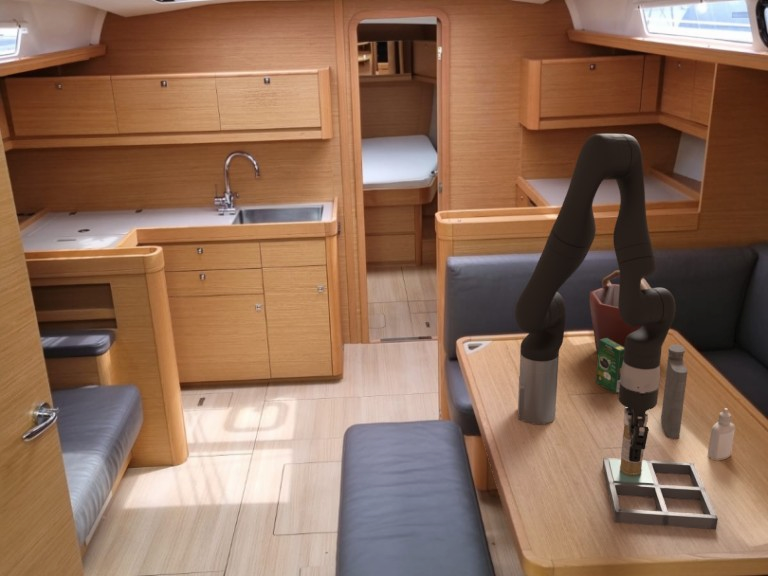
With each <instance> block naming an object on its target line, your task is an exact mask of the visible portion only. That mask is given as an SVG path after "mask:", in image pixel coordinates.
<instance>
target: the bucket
mask: <svg viewBox="0 0 768 576" xmlns="http://www.w3.org/2000/svg"><path fill="white" fill-rule="evenodd" d="M619 277H620V271H619V270H614V271H613V272H612V273H610V274H608V275H606V276H605V277H604V278H602V280H601V285H602V287H600V288H597V289H594V290H591V291H590V292H589V308H590V316H591V322H592V328H593V330H592V331H593V336H594V337H593V338H594V344H595V351H596V352H597V353H596V354H598V351H599V340H600V339H604V338H608V339H610V340H612V341H613V342H615V343H617V344H619V345H621V346H623V347H625V340H626V337H627V336H628V335H629V334H630V333H632V332H634V331H636V330H638V329H640V328H641V327H642V326H637V327H633V326H629V325H628V324H626V323H625V322H624V321H623V319H622V318H621V316H620V313H619V308H618V301H619V283H618V284H616V283H612V282H611V281H610V280H615V279H616V278H619ZM651 288H652V287H651V286H650V284H649V283H648V282H647V280H646V279H645V278H643V279H642V280H641V284H640V290H643V289H651Z"/></svg>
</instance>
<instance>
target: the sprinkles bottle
mask: <svg viewBox="0 0 768 576" xmlns="http://www.w3.org/2000/svg"><path fill="white" fill-rule="evenodd" d="M647 425H648V422H647V423H646V426H647ZM631 430H632V431H634V429H632V428H631ZM622 434H623V435H622V442H621V452H620V453H621V455H620V459H621V465H620V470H621V471H622V472H623V473H625V474H627V475H631V476H636V475H639V474H640V473H641V472H642V469H641V467H642V460H644V451H645V449H641V458H640V461H639V462H631V461H629V450H630V435H629V434H628V420H627V413H625V412H624V414H623V433H622Z"/></svg>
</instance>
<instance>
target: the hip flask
mask: <svg viewBox="0 0 768 576" xmlns="http://www.w3.org/2000/svg"><path fill="white" fill-rule="evenodd" d="M667 350H668V354H667V362H666V363H667V364H666V372H665V373H666V374H665V382H664V388H663V399H662V407H661V408H662V409H661V415H660V416H661V418H660V422H661V428H662V431H663V434H664V436H665V437H666V438H668V439H671V440H678V439H680V433H681V428H682V427H681V426H682V418H683V410H684V402H685V393H686V386H687V378H688V369H687V367H686V365H685V363H684V354H685V350H686V349H685V347H684V346H683V345H681V344H672V345H670V346H668V349H667Z"/></svg>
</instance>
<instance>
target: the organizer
mask: <svg viewBox="0 0 768 576" xmlns="http://www.w3.org/2000/svg"><path fill="white" fill-rule="evenodd" d="M602 459H603V460H602V471H603V474H604V475H603V476H604V481H605V484H606V489H607V494H608V497H609V501H610V506H611V511H612V516H613V521H614V523H621V524H624V523H625V524H637V525H650V526H651V525H653V526H664V527H665V526H667V527H681V528H694V529H695V528H696V529H709V530H716V529H717V527H718V526H717V525H718V519H719V518H718V516H717V512H716V511H715V509H714V507H713V504H712V502H711V499H710V497H709V495H708V492H707V490H706V488H705V486H704V484H703V480H702V478H701V476H700V475H699V474H700V473H699V471H698V470H697V467H696V465H695V462H686V461H684V462H683V461H666V460H650V459H648V460H647V459H643V460H642V467H641V469H642V472H641V473H640V474H639V475H636V476H631V475H627V474H625V473H623V472H622V471H621V470H620V465H621V458H616V457H615V458H613V457H603V458H602ZM656 474H664V475H665V474H667V475H681V476H683V475H685V476H689V479H690V482H691V484H692V486H685V485H684V486H683V485H671V484H670V485H669V484H659V481H658V478H657V476H656ZM618 496H627V497H640V498H642V497H643V498H653V501H654V503H655V506H656V510H644V509H629V508H627V509H626V508H621V506H620V502H619V498H618ZM665 499H671V500H672V499H673V500H686V501H687V500H688V501H689V500H691V501H699V504H700V507H701V509H702V510H703V513H692V512H691V513H690V512H689V513H687V512H673V511H668V509H667V508H668V507H667V505H666V502H665Z"/></svg>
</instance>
